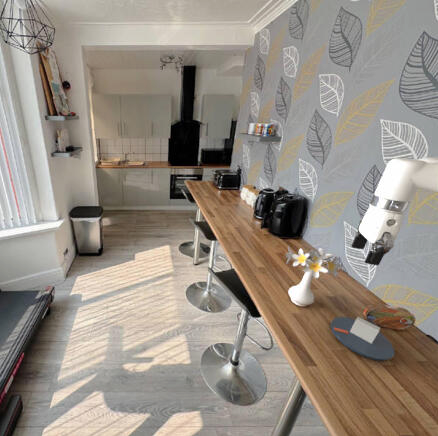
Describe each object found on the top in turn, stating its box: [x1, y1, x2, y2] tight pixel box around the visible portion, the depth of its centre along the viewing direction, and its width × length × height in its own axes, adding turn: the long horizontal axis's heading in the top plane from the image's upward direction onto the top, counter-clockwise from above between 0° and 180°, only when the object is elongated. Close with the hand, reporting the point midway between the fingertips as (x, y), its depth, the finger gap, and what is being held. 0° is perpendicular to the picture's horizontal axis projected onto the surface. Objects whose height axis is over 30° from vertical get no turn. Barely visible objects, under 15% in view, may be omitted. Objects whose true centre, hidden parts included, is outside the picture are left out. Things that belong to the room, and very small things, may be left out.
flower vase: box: [285, 245, 343, 308], centre depth 94 cm, size 13×18×25 cm
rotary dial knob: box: [330, 316, 395, 362], centre depth 80 cm, size 17×17×7 cm
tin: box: [362, 303, 416, 331], centre depth 88 cm, size 15×3×8 cm, turn 76°
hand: (363, 255), depth 73 cm, fingers open, 9 cm apart
